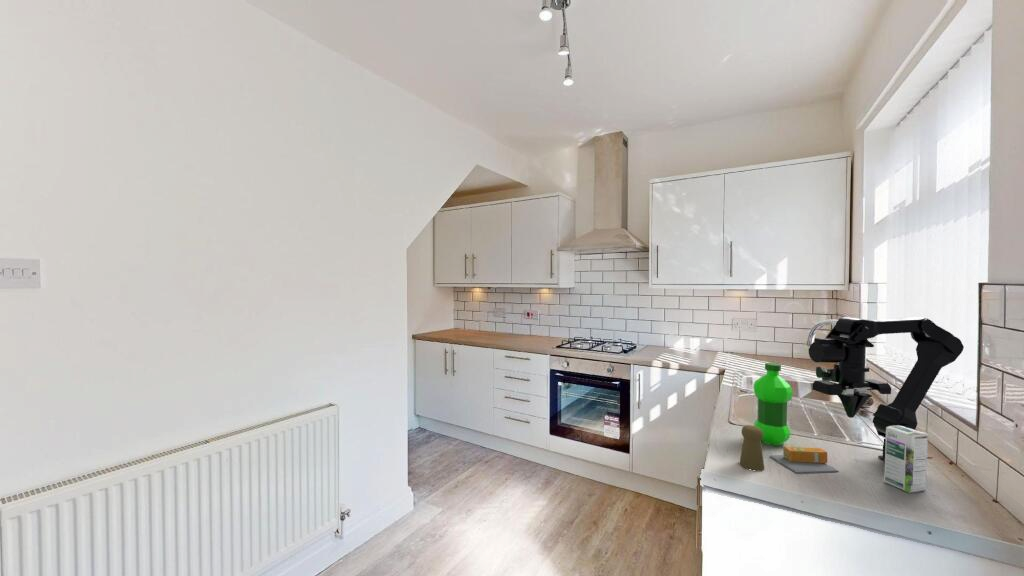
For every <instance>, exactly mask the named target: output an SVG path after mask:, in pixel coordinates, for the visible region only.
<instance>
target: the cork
mask: <svg viewBox="0 0 1024 576" xmlns="http://www.w3.org/2000/svg"><path fill="white" fill-rule="evenodd" d="M741 435H742V437H743V438H742V439H743V440H742V445H741V446H742V447H741V453H740V458H739V463H740V464H739V466H741V467H742V468H744V467H745V468H744V469H746V468H747V469H746V470H749V469H751V470H750V471H753V470H755V471H754V472H762V471H764V470H765V463H764V462H765V461H764V456H763V455H764V454H763V449H762V448H763V447H762V438H763V431H762V430H761V429H760V428H759V427H756V426H754V425H751V424H749V425H744V426H742V428H741Z"/></svg>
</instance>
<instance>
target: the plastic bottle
mask: <svg viewBox="0 0 1024 576" xmlns="http://www.w3.org/2000/svg"><path fill="white" fill-rule="evenodd" d="M764 369H765V371H766V374H764V375H762V376H760V377H759V378H757V379H756V380H755V381H754V383H753V386H752V387H753V393H754V395H755V397H756V398H757V419H756V420H755V422H754V424H753V426H756V427H759V428H760V429H761V430H762V431H763V438H762V440H761V442H763V441H764V442H763V443H765V442H766V443H765V444H767V443H768V444H767V445H770V444H772V445H771V446H780V444H781V445H782V444H783V443H786V442H787V441H788V440H789V439H790V437H791V431H790V428H789V427H788V423H787V422H788V403H789V402H790V401H791V400H792V398H793V389H792V387H791V385H790V384H789V383H788V382H787V381H786V380H785V379H784V378H782V376H780V375H779V374H780V372H781V371H782V365H781V364H780V363H777V362H775V363H774V362H764Z"/></svg>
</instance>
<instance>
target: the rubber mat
mask: <svg viewBox="0 0 1024 576" xmlns="http://www.w3.org/2000/svg"><path fill="white" fill-rule="evenodd" d="M769 457H770V459H773V460H774V461H776V462H777V463H779V464H781V465H783V466H784V467H786V468H787V469H789V470H790V471H792V472H793V473H794V474H814V473H815V474H818V473H839V470H838V469H836V468H834V467H833V466H831V465H829V464H827V463H811V462H791V461H789V460H788V459H787V458H785V457H784V455H783V454H771V455H769Z"/></svg>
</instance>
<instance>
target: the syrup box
mask: <svg viewBox="0 0 1024 576" xmlns="http://www.w3.org/2000/svg"><path fill="white" fill-rule="evenodd" d="M885 439H886V441H885V461H884V475H883V476H884V477H883V482H884V483H885V484H888V485H891V486H892V487H895V488H898V489H900V490H903V491H904V492H907V493H908V494H912V493H919V492H923V491H927V465H928V441H929V440H928V439H929V434H928V433H927V432H923V431H919V430H917V429H915V430H914V429H910V428H907V427H904V426H897V425H896V426H889V427H886V438H885Z"/></svg>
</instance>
